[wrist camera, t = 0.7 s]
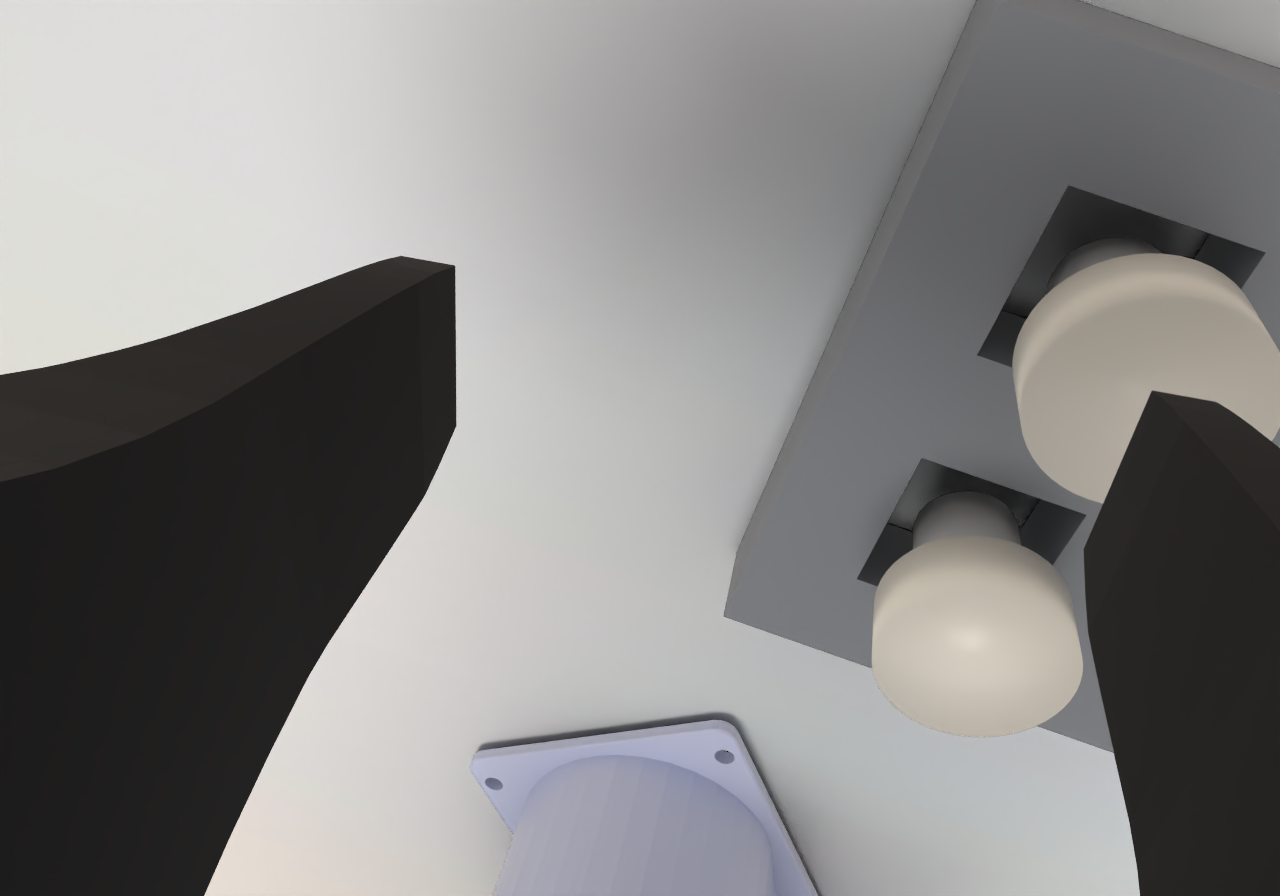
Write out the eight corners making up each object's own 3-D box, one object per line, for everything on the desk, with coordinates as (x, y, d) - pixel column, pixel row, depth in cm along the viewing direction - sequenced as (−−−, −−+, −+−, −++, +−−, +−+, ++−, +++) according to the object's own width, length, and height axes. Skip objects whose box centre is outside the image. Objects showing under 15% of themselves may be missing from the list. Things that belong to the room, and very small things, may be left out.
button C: (1267, 236, 17) (1345, 347, 14) (1151, 408, 19) (1197, 537, 16) (1062, 165, 17) (1095, 261, 14) (967, 344, 19) (979, 461, 16)
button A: (1091, 496, 20) (1123, 632, 17) (1007, 619, 22) (1023, 760, 19) (918, 437, 20) (920, 562, 17) (851, 565, 22) (841, 697, 19)
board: (1772, 235, 17) (1874, 295, 15) (1274, 739, 24) (1303, 819, 23) (989, -30, 17) (998, -1, 15) (736, 552, 25) (723, 616, 23)
